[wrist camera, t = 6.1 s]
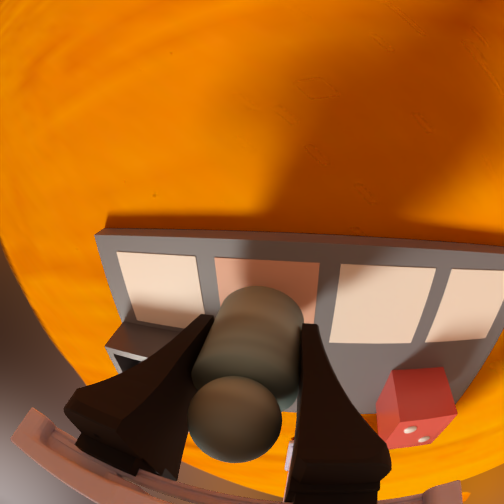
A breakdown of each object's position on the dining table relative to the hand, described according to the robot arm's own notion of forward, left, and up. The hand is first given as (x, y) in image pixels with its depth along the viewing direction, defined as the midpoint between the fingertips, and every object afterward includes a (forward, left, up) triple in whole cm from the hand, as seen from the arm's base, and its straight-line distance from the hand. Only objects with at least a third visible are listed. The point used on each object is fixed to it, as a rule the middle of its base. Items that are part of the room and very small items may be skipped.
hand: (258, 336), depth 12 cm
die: (-7, -10, -2) cm, 12 cm away
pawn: (0, 0, -1) cm, 1 cm away
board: (-3, -3, -3) cm, 6 cm away
